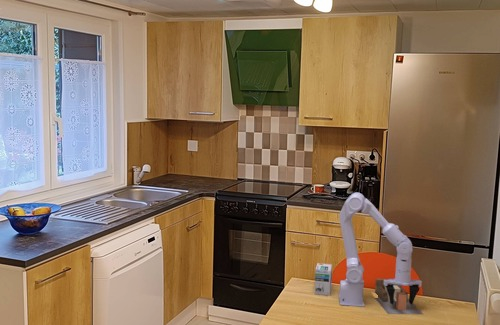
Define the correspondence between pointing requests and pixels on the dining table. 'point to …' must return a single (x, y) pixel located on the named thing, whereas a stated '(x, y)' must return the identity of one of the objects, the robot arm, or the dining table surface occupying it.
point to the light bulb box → (323, 279)
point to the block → (398, 298)
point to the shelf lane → (392, 307)
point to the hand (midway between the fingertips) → (401, 303)
